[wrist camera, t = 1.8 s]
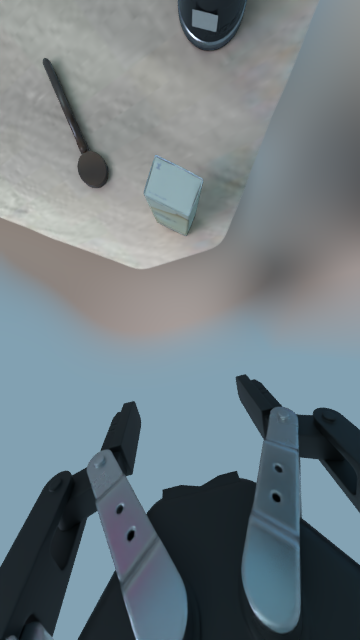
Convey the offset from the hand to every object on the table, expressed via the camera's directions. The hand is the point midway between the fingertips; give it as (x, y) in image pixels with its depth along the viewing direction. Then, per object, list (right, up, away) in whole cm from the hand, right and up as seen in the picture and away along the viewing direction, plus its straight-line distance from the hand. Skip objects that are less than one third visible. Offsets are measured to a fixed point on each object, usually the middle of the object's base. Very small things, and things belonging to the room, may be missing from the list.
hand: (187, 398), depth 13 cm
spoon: (-18, +38, +15) cm, 44 cm away
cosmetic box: (-1, +25, +19) cm, 31 cm away
